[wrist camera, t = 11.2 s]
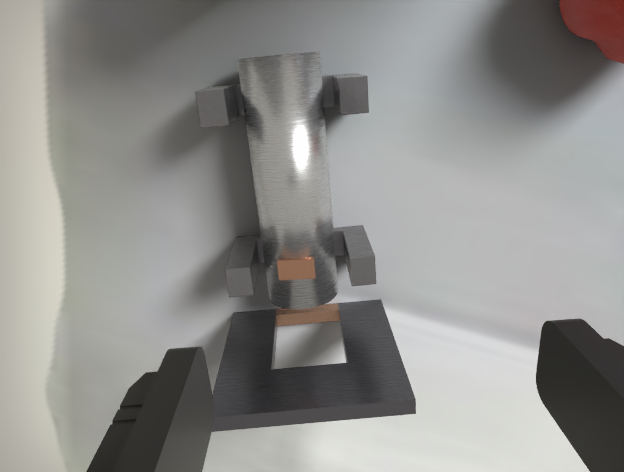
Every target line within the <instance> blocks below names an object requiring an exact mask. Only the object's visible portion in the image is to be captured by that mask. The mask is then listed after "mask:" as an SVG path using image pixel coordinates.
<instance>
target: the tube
mask: <svg viewBox="0 0 624 472" xmlns="http://www.w3.org/2000/svg"><path fill="white" fill-rule="evenodd" d="M237 62H238V69H239V77H240V84H241V91H242V99H243V106H244V114H245V121H246V129H247V136H248V144H249V151H250V159H251V166H252V173H253V181H254V188H255V196H256V203H257V211H258V218H259V226H260V233H261V240H262V248H263V255H264V263H265V270H266V278H267V285H268V293H269V299H270V301H271V302H272V303H273V304H275V305H277V306H279V307H282V308H287V309H308V308H313V307H317V306H320V305H323V304H325V303H327V302H329V301H331V300H332V299H333V298H334V297H335V296H336V295H337V293H338V284H337V271H336V258H335V245H334V232H333V218H332V205H331V192H330V179H329V166H328V152H327V139H326V126H325V113H324V100H323V86H322V73H321V60H320V52H311V53H298V54H287V55H276V56H265V57H256V58H246V59H238V60H237Z"/></svg>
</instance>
